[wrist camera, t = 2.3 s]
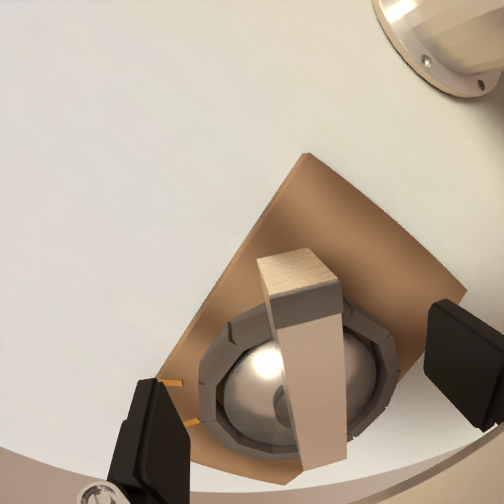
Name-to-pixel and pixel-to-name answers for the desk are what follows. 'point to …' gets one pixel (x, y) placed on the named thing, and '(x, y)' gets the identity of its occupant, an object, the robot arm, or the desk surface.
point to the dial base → (346, 256)
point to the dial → (301, 364)
